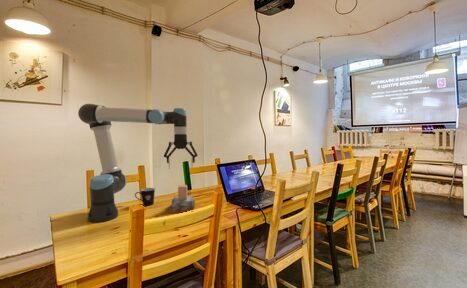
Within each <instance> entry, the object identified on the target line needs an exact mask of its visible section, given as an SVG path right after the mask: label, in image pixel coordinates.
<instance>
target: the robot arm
mask: <svg viewBox="0 0 467 288" xmlns="http://www.w3.org/2000/svg"><path fill="white" fill-rule="evenodd" d="M77 115H78V118H79V119H80V120H81V121H82V122H83V123H85V124H88V126H89V129H90V130H91V131H93V133H94V134H93V135H94V139H95V143H96V148H97V151H98V157H99V161H100V166H101V172H100V174H99V175H94V176H93V177H91V178H90V180H89V195H90V207H89V211H88V214H87V221H88V222H90V223H103V222H108V221H111V220H114V219H116V218H118V217H119V211H118V207H117V206H116V203H115V194H116V193H119V192H120V191H122V190H123V189H124V188H125V187H126V185H127V177H126V176H125V174H124V173H123V172H122V169H121V168H120V167H119V166H118V161H117V158H116V153H115V148H114V144H113V139H112V134H111V130H110V129H111V127H112V122H117V123H139V124H140V123H141V124H142V123H143V124H155V125H173V134H174V135H173V139H174V140H173V141H169V142H168V147H167V148H166V150H165V152H164V154H163V158H165V159H166V163H167V164H168V170H170V169H171V168H172V166H171V165H172V163H171V160H172V159H171V156H172V154H173V153H174V152H175V151H176V150H184V149H185V151H187V153H189V155H190V156H191V161H190V163H191V169H194V164H195V162H196V157H198V156H199V154H198V153H197V151H196V149H195V147H194V145H193V141H188V136H187V132H188V131H187V129H188V128H187V126H188V125H187V109H186V108H183V107H175V108H173V111H164V110H161V109H148V108H147V109H144V108H123V107H106V106H104V105H101V104H100V105H99V104H93V103H85V104H82V105H81V106H80V108H78V112H77ZM173 145H174V147H173V148H172V150H171V151H170V149H171V147H172V146H173ZM188 146H190V148H191V150H192V151H191V150H190V149H189V148H188ZM169 151H170V152H169Z"/></svg>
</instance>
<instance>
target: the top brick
mask: <svg viewBox="0 0 467 288" xmlns="http://www.w3.org/2000/svg"><path fill="white" fill-rule="evenodd" d="M177 192H178V194H177V195H178V200H187V196H188V184H180V185H178V186H177Z"/></svg>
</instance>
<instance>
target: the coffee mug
mask: <svg viewBox="0 0 467 288" xmlns="http://www.w3.org/2000/svg"><path fill="white" fill-rule="evenodd" d="M155 191H156V188H154V187H145V188H141V189H140V191H138V192H136V193H134V196H135V198H136V199H137V200H139V201H141V202H142V205H143V204H144V205H145V207H149V206H153V205H155V202H154V201H155V193H156V192H155ZM138 194H140V195H141V198H139V197H137V195H138ZM144 205H143V206H144Z"/></svg>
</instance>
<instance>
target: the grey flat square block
mask: <svg viewBox="0 0 467 288" xmlns="http://www.w3.org/2000/svg"><path fill="white" fill-rule="evenodd" d="M195 207H196V200H195V199H194V195H187V200H178V196H177V195H176V196H174V197H173V199H172V200H171V204H170V205H169V213H170V212H171V213H186V212H185V211H190V210H193V209H194V210H195Z"/></svg>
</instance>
